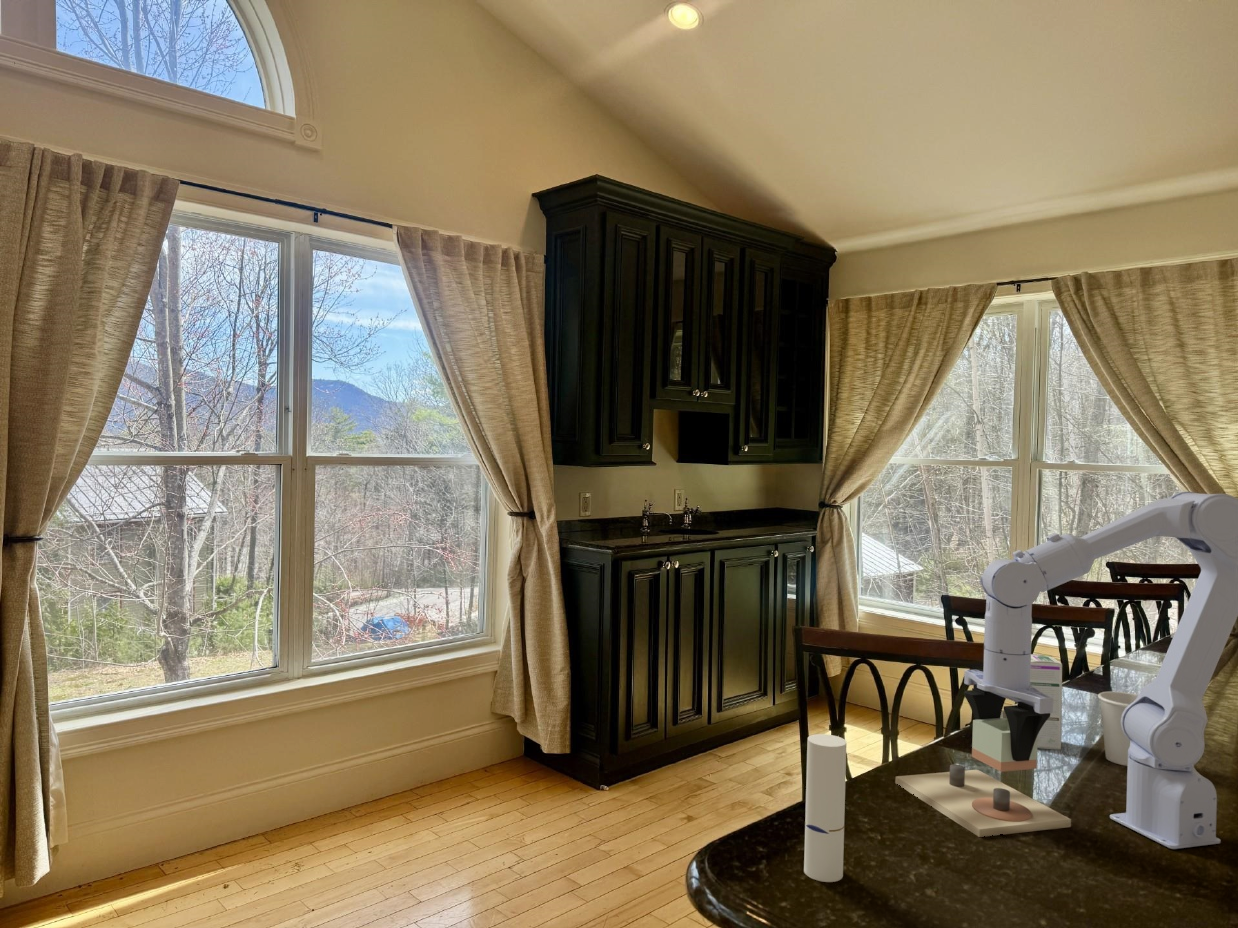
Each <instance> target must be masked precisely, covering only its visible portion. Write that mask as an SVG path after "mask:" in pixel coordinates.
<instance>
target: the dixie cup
mask: <svg viewBox="0 0 1238 928" xmlns="http://www.w3.org/2000/svg"><path fill="white" fill-rule="evenodd" d="M1138 695H1139V694H1137V693H1132V692H1126V691H1125V692H1124V691H1123V692H1122V691H1102V692H1099V693H1098V695H1097V698H1098V699H1099V706H1100V707H1099V708H1100V715H1101V725H1102V732H1103V733H1102V734H1103V741H1104V743H1103V744H1104V751H1105V759H1106V760H1108V761H1110V762H1111V763H1114V764H1118V765H1121V766H1126V767H1128V749H1129V747H1130V740H1129V739H1128V738H1127V737H1126V735H1125V734H1124V732H1123V730H1122V727H1121V717H1122V714H1123V711H1124V710H1125V708H1126V707H1127V706H1128V705H1130V704H1131V703H1132V702H1134V701H1135V700H1136V698H1137V697H1138Z"/></svg>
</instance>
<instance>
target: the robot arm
mask: <svg viewBox="0 0 1238 928" xmlns="http://www.w3.org/2000/svg"><path fill="white" fill-rule="evenodd" d="M1154 537H1163V538H1164V537H1165V538H1175V539H1177V540H1178V541H1179V542H1180V543H1182V544H1183V545H1184V546H1185V547H1187V548H1188V550H1189V552H1190V553H1191V555H1192V556H1193V558H1194V560H1195V561H1196V562H1197V564H1198V566H1199V568H1200V573H1199V575H1198V578H1197V581H1196V582H1195V585H1194V587H1193V589H1192V592H1191V595H1190V597H1189V599H1188V602H1187V604H1186V605H1185V606H1186V607H1185V609H1184V611H1183V613H1182V615H1181V617H1180V620H1179V621H1178V622H1179V623H1178V625H1177V627H1176V630H1175V632H1174V634H1173V636H1172V639H1171V642H1170V644H1169V646H1168V648H1167V652H1166V654H1165V656H1164V657H1163V661H1162V663H1161V665H1160V668H1159V669H1158V672H1157V675H1156V677H1155V678H1154V680H1152V681H1151V682H1149V683H1147V684H1146V685H1144V686H1143V687H1141V689H1140V691H1139V693H1138V694H1137V695H1138V697H1137V698H1136V700H1135V701H1134V702H1132V703H1131V704H1130V705H1128V706H1127V707H1126V708H1125V710H1124V711H1123V714H1122V717H1121V727H1122V730H1123V732H1124V734H1125V735H1126V737H1127V738H1128V739H1129V740H1130V747H1129V749H1128V766H1127V768H1126V769H1127V773H1126V807H1125V808H1126V809H1125V810H1126V811H1125V812H1121V813H1120V812H1119V813H1113V814H1110V815H1109V818H1110V819H1111V820H1113V821H1115V822H1116V823H1119V824H1121V825H1122V826H1125V827H1127V828H1128V829H1131V830H1133V832H1134V831H1135V832H1137V833H1138V834H1141V835H1142V836H1145V837H1146V838H1148V839H1150V840H1152V841H1155V842H1156V843H1158V844H1161V845H1162V846H1164V847H1167V848H1168V849H1171V850H1178V849H1184V848H1185V849H1186V848H1193V847H1194V848H1195V847H1201V846H1208V845H1210V846H1211V845H1216V844H1221V843H1222V842H1221V839H1220V838H1219V837H1217V813H1218V812H1217V810H1218V809H1217V806H1218V796H1217V790H1216V788H1215V785H1214V784H1213V782H1212V781H1211V780H1209V779H1208V778H1207V777H1204V776H1203V775H1201V774H1200V773H1199V772H1198V771H1197V770H1196V768H1195V764H1197V763H1198V762H1199V761H1200V760H1201V758H1202V756H1203V754H1204V751H1205V745H1206V744H1205V736H1204V734H1205V728H1206V725H1207V723H1208V715H1207V713H1206V708H1205V705H1204V702H1203V699H1204V696H1205V693H1206V691H1207V689H1208V687H1209V684H1210V682H1211V679H1212V677H1213V674H1215V673H1214V672H1215V670H1216V667H1217V665H1218V662H1219V660H1220V659H1221V656H1222V654H1223V652H1224V649H1225V647H1226V644H1227V642H1228V640H1229V638H1230V634H1231V632H1232V631H1233V628H1234V625H1235V624H1236V621H1237V619H1238V498H1237V497H1235V496H1234V495H1230V494H1225V493H1211V494H1210V493H1197V492H1195V491H1194V492H1193V491H1181V492H1177V493H1174V494H1173V495H1171V496H1169V497H1165V498H1159V499H1156V500H1154V501H1152V502H1151V503H1148V504H1147V505H1144V506H1142V507H1140V508H1138V509H1136V510H1134V511H1131V512H1130V513H1128V514H1126V515H1124V516H1121V517H1120V518H1117V519H1115V520H1113V521H1111V522H1109V523H1107V524H1105V525H1103V526H1102V527H1099V528H1097V529H1095V530H1093V531H1091V532H1088V533H1087V534H1084V535H1083V536H1081V537H1079V536H1076V535H1073V534H1070V533H1064V534H1061V535H1060V534H1058V533H1055V532H1054V533H1052V534H1048V535H1047V536H1046V537H1045V539H1046V541H1045V542H1042V543H1040V544H1038V545H1036V546H1033V547H1032V548H1029V549H1027V550H1024V551H1022V550H1020V549H1018V550H1015V551H1013V552H1012V556H1013V559H1007V558H1001V559H996V560H993V561H991V562H990V563H989V564H987V567H986V569H984V571H983V573H982V576H981V577H980V578H979V582H980V585H981V588H982V590H983V592H984V593H985V594H986V601H985V603H986V604H985V614H984V631H983V632H984V633H983V635H984V636H983V637H984V639H983V670H979V669H964V673H963V674H964V677H963V678H964V680H963V683H964V685H967V686H973V687H972V689H969V690H967V689H966V690H965V691H964V693H963V695H964V697H965V699H966V701H967V704H968V705H969V707H970V709H971V712H972V715H973V718H974V720H980V719H995V718H1001V717H1002V712H1003V711H1004V714H1005V716H1006V718H1007V720H1008V723H1009V728H1010V735H1011V753H1012V758H1013V760H1015V761H1029V758H1030V755H1031V752H1032V749H1033V746H1034V743H1035V740H1036V738H1037V735H1038V733H1039V731H1040V730H1041V728H1042V726H1043V725H1044V723H1045V722H1046V721H1047V719H1048V718H1049V717H1050V713H1053V698H1052V697H1049V696H1047V695H1045V694H1044V693H1042V692H1041V691H1039V690H1037V689H1036V688H1034V687H1033V686H1031V685H1030V669H1031V654H1032V634H1033V632H1032V630H1033V629H1032V628H1033V627H1032V626H1033V618H1032V612H1033V611H1032V610H1033V603H1035V602H1036V600H1038V597H1039V595H1040V594H1041V592H1042V593H1045V592H1047V591H1049V590H1052V589H1055V588H1056V587H1058V586H1060V585H1063V584H1065V583H1067V582H1070V581H1072V580H1076V579H1077V578H1080V577H1082V576H1084V575H1086V574H1089V573H1090V572H1091V569H1092V567H1093V564H1094V562H1095V560H1096V559H1099V558H1102V557H1105V556H1107V555H1110V554H1112V553H1115V552H1117V551H1120V550H1123V549H1125V548H1128V547H1131V546H1134V545H1136V544H1139V543H1141V542H1144V541H1147V540H1149V539H1153V538H1154ZM1006 700H1009V701H1012V702H1014V703H1017V705H1004V704H1005V702H1006Z"/></svg>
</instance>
